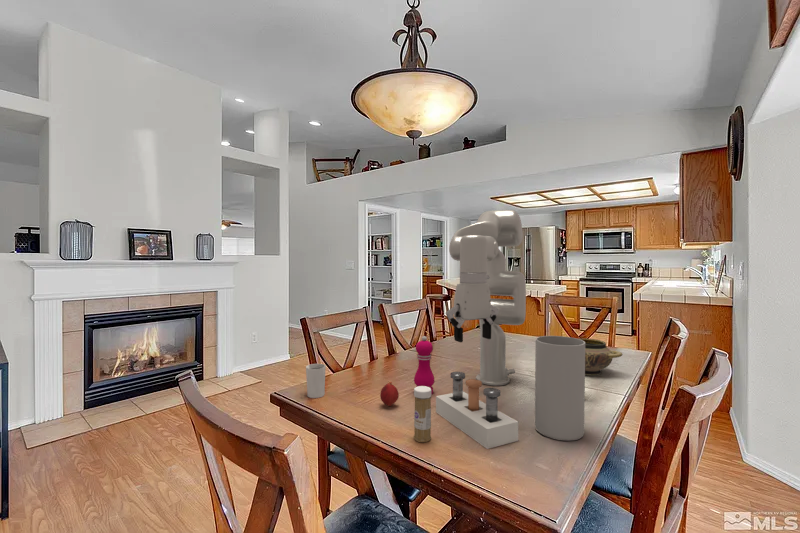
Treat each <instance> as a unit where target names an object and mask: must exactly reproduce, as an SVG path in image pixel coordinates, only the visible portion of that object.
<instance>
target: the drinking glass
mask: <svg viewBox="0 0 800 533" xmlns="http://www.w3.org/2000/svg"><path fill="white" fill-rule="evenodd" d="M305 374H306V394H307V395H306V396H307V397H308V398H311V399H318V398H322V397H324V396H325V393H326V392H325V387H326V365H325V364H324V363H311V364H308V365H306V366H305Z"/></svg>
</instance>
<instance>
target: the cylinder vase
mask: <svg viewBox="0 0 800 533" xmlns="http://www.w3.org/2000/svg"><path fill="white" fill-rule="evenodd" d="M580 339H581V338H577V337H576V338H575V337H571V336H563V335H561V336H559V335H543V336H541V335H540V336H538V337H535V352H534V354H535V364H534V365H535V368H534V370H535V371H534V372H535V374H534V376H535V379H534V383H535V384H534V426H535V429H536V430H537V432H538V433H540V434H541V435H542V436H545V437H548V438H550V439H553V440H556V441H557V440H558V441H567V442H569V441H577V440H579V439H581V438H583V436H584V435H585V406H586V405H585V401H586V400H585V395H586V394H585V393H586V392H585V389H586V386H585V385H586V383H585V382H586V375H585V342H584V341H583V340H580Z"/></svg>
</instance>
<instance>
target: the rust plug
mask: <svg viewBox="0 0 800 533" xmlns="http://www.w3.org/2000/svg"><path fill="white" fill-rule="evenodd" d="M465 386H466V387H468V388H467V390H468V391H467V392H468V393H467V394H468V409H469V410H470V411H472V412H473V411H477V410H479V400H480V388H481V387H482V386H483V384H482V382H481V381H480V380H476V378H471V379H470V378H469V379H466V380H465Z"/></svg>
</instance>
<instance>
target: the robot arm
mask: <svg viewBox="0 0 800 533" xmlns="http://www.w3.org/2000/svg"><path fill="white" fill-rule="evenodd" d="M523 239H524V230H523V227H522V221H521V217H520V215H519V213H518V212H517V211H515V210H514V209H499V210H498V209H497V210H496V209H495V210H487V211H484V212H483V213H481V214H480V215H479V216H478V219H477V220H476V222H475V223H472V224H470V225H467V226H465V227H461V228H459V229H458V230H456V231H455V233H454V234H453V236H452V238H451V239H450V242H449V248H448V249H449V255H450V257H451V258H452V260H454V261H458V262H459V283H457V284H456V288H455V292H454V301H453V307H451V308H450V309H448V310H447V311H446V312H445V315H446V317H447V319H448V322H449V323H450V324H451V326H452V327H453V337H454V341H455V342H458V343H463V341H464V339H463V338H464V328H463V327H462V326H463V324H464V323H465V321H473V320H474V321H476V320H478V322H479V334H480V336H479V337H480V339H479V341H480V342H479V350H480V351H479V355H480V356H479V373H478V374H477V375H476V376H475V379H476V380H480V381H481V382H482V385H487V386H496V387H498V386H506V385H508V384H509V383H510V377H509V376H510V375H512V374H513V375H515V374H516V370H515V368H509V369H508V368H507V367H506V348H507V347H506V346H507V344H506V343H507V342H506V341H507V338H506V333H505V331H504V330H503V328H502V327H501V326H500V325H508V326H520V325H521V326H522V325H523V324H524V323H525V321H526V315H527V314H526V312H527V309H526V308H527V307H526V306H527V284H526V282H527V280H526V277H525V274H524V273H523V272H521V271H517V270H506V268H507V267H506V266H507V259H506V256H505V255H504V253H503V251H501V249H499V247H500V248H501V247H507V248H509V247H513V248H514V247H518V246H520V245H521V244H522V243H523ZM491 296H503V297H505V296H506V297H512V299H507V298H506V299H505V298H491Z"/></svg>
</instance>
